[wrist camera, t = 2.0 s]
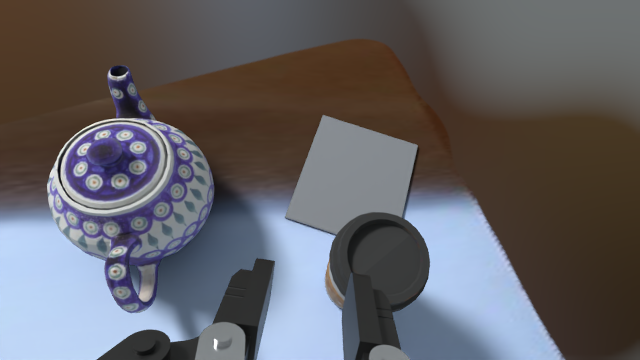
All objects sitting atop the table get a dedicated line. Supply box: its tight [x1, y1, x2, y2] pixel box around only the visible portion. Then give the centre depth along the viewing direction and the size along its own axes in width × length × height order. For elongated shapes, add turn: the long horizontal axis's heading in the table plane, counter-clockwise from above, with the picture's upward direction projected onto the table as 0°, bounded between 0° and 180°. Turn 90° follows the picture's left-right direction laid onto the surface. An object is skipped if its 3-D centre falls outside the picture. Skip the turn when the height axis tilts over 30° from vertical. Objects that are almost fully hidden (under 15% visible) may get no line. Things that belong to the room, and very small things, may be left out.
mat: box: [285, 115, 418, 235], centre depth 47 cm, size 16×14×1 cm
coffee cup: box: [325, 212, 430, 312], centre depth 35 cm, size 8×8×15 cm
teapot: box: [47, 66, 214, 313], centre depth 36 cm, size 25×15×15 cm, turn 10°
